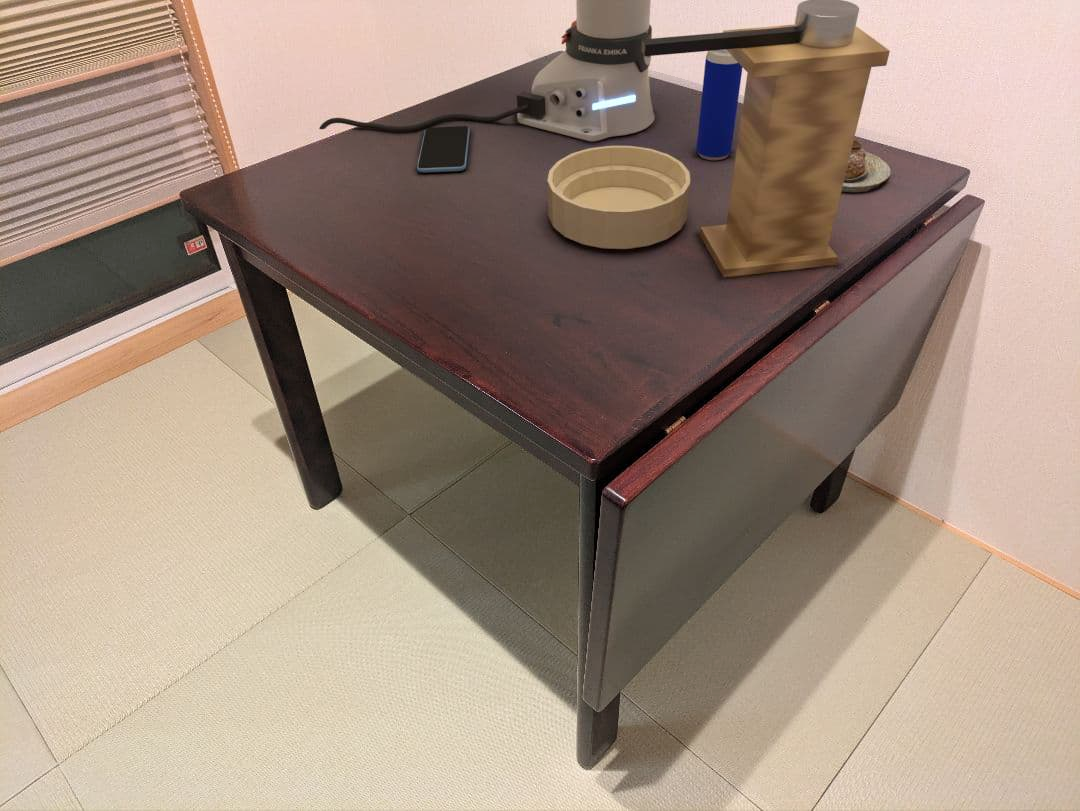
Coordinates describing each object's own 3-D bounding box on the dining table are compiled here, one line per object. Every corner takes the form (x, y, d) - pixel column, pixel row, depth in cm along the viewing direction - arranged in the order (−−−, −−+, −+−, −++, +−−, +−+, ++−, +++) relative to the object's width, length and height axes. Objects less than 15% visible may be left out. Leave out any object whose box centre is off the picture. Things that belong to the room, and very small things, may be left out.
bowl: (527, 238, 103) (524, 196, 99) (579, 177, 115) (579, 137, 111) (661, 265, 97) (665, 222, 93) (702, 198, 109) (706, 157, 105)
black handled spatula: (837, 26, 84) (844, -4, 82) (862, 45, 80) (869, 14, 78) (636, 44, 83) (637, 13, 81) (650, 64, 78) (651, 32, 76)
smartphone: (469, 124, 128) (465, 166, 117) (470, 130, 128) (466, 171, 117) (424, 126, 128) (415, 168, 117) (424, 131, 128) (416, 173, 117)
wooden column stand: (723, 277, 95) (754, 62, 78) (699, 235, 102) (722, 30, 85) (835, 265, 96) (890, 50, 79) (804, 224, 103) (847, 19, 86)
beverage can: (734, 149, 120) (748, 46, 110) (725, 163, 116) (739, 58, 106) (701, 144, 121) (712, 42, 111) (691, 158, 118) (701, 54, 108)
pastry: (784, 176, 113) (790, 145, 110) (827, 147, 119) (834, 117, 116) (862, 202, 106) (871, 170, 103) (903, 171, 113) (912, 140, 110)
